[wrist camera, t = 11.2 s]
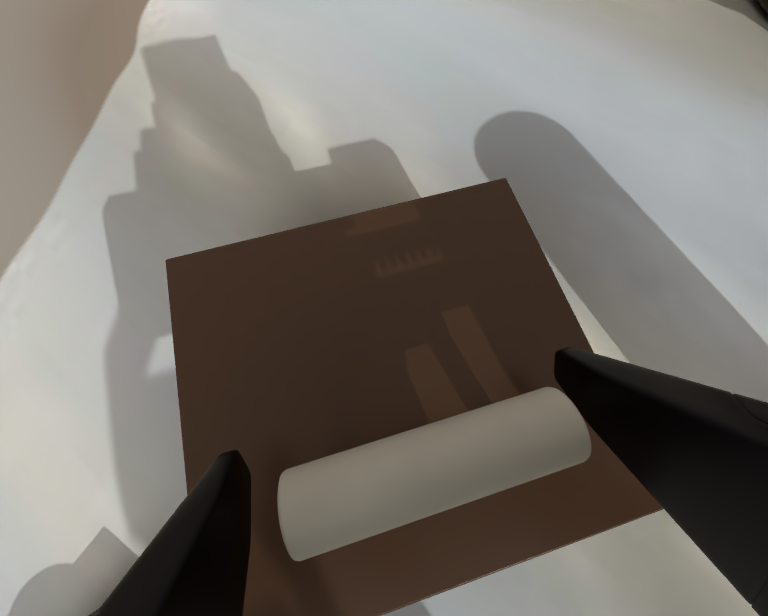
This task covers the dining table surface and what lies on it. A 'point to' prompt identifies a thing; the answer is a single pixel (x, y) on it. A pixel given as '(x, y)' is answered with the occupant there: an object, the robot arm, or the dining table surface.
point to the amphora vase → (764, 5)
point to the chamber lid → (391, 402)
